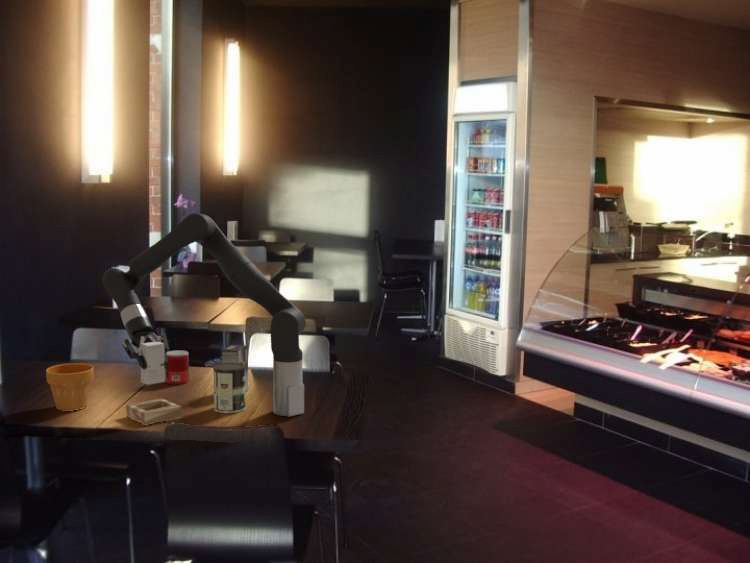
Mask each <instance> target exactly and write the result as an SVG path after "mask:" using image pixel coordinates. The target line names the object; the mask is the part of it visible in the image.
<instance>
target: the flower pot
mask: <svg viewBox="0 0 750 563" xmlns="http://www.w3.org/2000/svg"><path fill="white" fill-rule="evenodd" d="M94 374H95V368H94V365H91V364H87V363H79V362H78V363H74V362H73V363H61V364H56V365H52V366H50V367H48V368H46V370H45V375H46V383H48V384H49V386H50V390H51V393H52V397H53V400H54V404H55V407H56V410H57V409H61V410H75V409H80V408H83V407H85V406H86V407H87V404H88V398H89V395H90V394H89V392H90V387H91V382H92V381H93V380H94V377H95V375H94ZM86 407H85V408H86Z"/></svg>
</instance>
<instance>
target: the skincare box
mask: <svg viewBox="0 0 750 563" xmlns="http://www.w3.org/2000/svg"><path fill="white" fill-rule="evenodd" d="M141 347H142V352H143V353H142V356H144V358H145V360H146V363H147V368H146V369H143V368H141V367H140V382H141V383H143V384H144V385H153V384H158V383H164V382H165V380H166V379H165V375H166V372H165V366H164V343H161V342H159V341H157V342H149V343H142V344H141Z"/></svg>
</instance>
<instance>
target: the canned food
mask: <svg viewBox="0 0 750 563" xmlns="http://www.w3.org/2000/svg"><path fill="white" fill-rule="evenodd" d="M165 355H166V357H167V359H168V362H167V364H166V366H165V375H166V379H165V380H166V383H167V384H168V385H171V386H179V385H180V386H182V385H185V384H188V382H189V380H190V369H189V368H190V365H189V363H190V362H189V361H190V360H189V359H190V357H189V352H188V351H187V350H179V349H178V350H170V351H169V350H168V351H167V353H166V354H165Z"/></svg>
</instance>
